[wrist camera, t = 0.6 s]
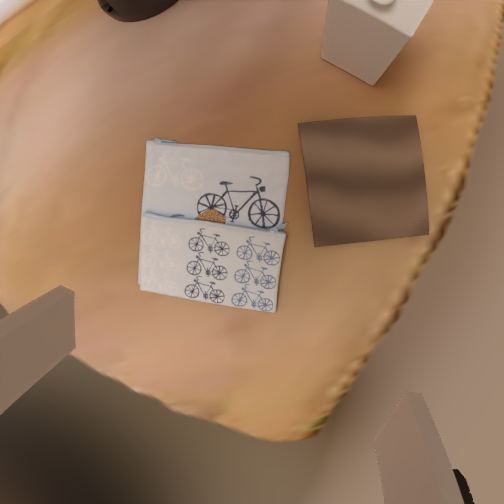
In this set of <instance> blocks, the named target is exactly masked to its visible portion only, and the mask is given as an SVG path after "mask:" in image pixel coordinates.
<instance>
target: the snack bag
mask: <svg viewBox="0 0 504 504" xmlns="http://www.w3.org/2000/svg"><path fill="white" fill-rule="evenodd" d="M173 142H175V143H173ZM289 170H290V153H289V152H288V151H275V150H258V149H247V148H236V147H225V146H215V145H198V144H179V143H177V142H176V141H171V140H161V139H158V138H156V139H155V140H152V141H151V140H148V141H147V144H146V162H145V176H144V189H143V201H142V215H141V231H140V252H139V274H138V283H139V285H140V290H143V291H148V292H154V293H159V294H164V295H170V296H175V297H180V298H185V299H190V300H195V301H200V302H207V303H213V304H219V305H224V306H231V307H236V308H244V309H251V310H258V311H265V312H271V313H275V312H276V307H277V293H278V284H279V275H280V268H281V261H282V254H283V247H284V244H285V240H286V235H287V234H286V232H282V229H285V228H286V225H287V224H288V222H287V223H284V224H283V219H284V211H285V202H286V194H287V186H288V179H289ZM211 209H215V210H217V211H218V212H219V213H221V214H222V215H223V216H224V217H226V222H225V224H222V223H216V222H210V221H203V220H195V218H196V217H197V216H198V215H199V214H201V213H203V212H204V211H207V210H211Z"/></svg>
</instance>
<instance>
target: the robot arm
mask: <svg viewBox="0 0 504 504" xmlns="http://www.w3.org/2000/svg"><path fill="white" fill-rule="evenodd" d="M176 1H178V0H98V3H99V5H100V7H101V8H102V9H103V11H104V12H106V13H107V14H108V15H110V16H111V17H113V18H114V19H116V20H119V21H124V22H133V21H139V20H143V19H146V18H149V17H152V16H154V15H156V14H158V13H160V12H162V11H164V10H165V9H167V8H168V7H170V6H171V5H173V4H174V3H175V2H176ZM75 348H76V344H75V316H74V291H72V290H70V289H67V288H65V287H63V286H61V285H60V286H58V287H57V288H55V289H53V290H51V291H49V292H48V293H46V294H44V295H42V296H41V297H39V298H37V299H35V300H34V301H32V302H30V303H28V304H27V305H25V306H23V307H21V308H20V309H18V310H16V311H14V312H13V313H11V314H9V315H8V316H6V317H4V318H3V319H1V320H0V414H2V413H3V412H4V411H5V410H6V409H7V408H8V407H9V406H10V405H11V404H12V403H13V402H15V401H16V400H17V399H18V398H19V397H20V396H21V395H22V394H23V393H24V392H26V391H27V390H28V389H29V388H30V387H31V386H32V385H33V384H34V383H36V382H37V381H38V380H39V379H40V378H41V377H42V376H44V375H45V374H46V373H47V372H48V371H49V370H50V369H51V368H53V367H54V366H55V365H56V364H57V363H58V362H59V361H61V360H62V359H63V358H64V357H65V356H66V355H68V354H69V353H70V352H71V351H72V350H73V349H75ZM374 444H375V449H376V454H377V460H378V465H379V471H380V477H381V483H382V489H383V496H384V502H385V504H474V502H472V501H473V498H472V495H471V493H469V491H470V490H469V487H468V484H467V481H466V479H465V478H464V476H463V475H462V474H461V473H460V471H459V470H458V469H452V467H451V464H450V461H449V459H448V456H447V453H446V451H445V448H444V446H443V443H442V440H441V438H440V435H439V433H438V431H437V428H436V426H435V423H434V421H433V419H432V416H431V414H430V412H429V409H428V407H427V405H426V402H425V400H424V398H423V396H422V394H421V393H415V392H408V391H406V392H405V393H404V395H403V396H402V398H401V400H400V401H399V403H398V404H397V406H396V407H395V409H394V410H393V412H392V413H391V415H390V416H389V418H388V420H387V421H386V422H385V424H384V425H383V427H382V428H381V429H380V431H379V432H378V434H377V435H376V436H375V438H374Z"/></svg>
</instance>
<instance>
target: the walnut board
mask: <svg viewBox="0 0 504 504" xmlns="http://www.w3.org/2000/svg"><path fill="white" fill-rule="evenodd" d="M298 127H299V133H300V139H301V146H302V152H303V159H304V166H305V173H306V180H307V188H308V195H309V203H310V211H311V219H312V228H313V237H314V245H315V247H320V246H329V245H338V244H347V243H356V242H365V241H374V240H383V239H392V238H401V237H410V236H419V235H428V234H429V222H428V206H427V193H426V182H425V173H424V164H423V156H422V149H421V142H420V136H419V130H418V124H417V119H416V116H381V117H362V118H348V119H336V120H325V121H315V122H306V123H298Z"/></svg>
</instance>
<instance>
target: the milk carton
mask: <svg viewBox="0 0 504 504" xmlns="http://www.w3.org/2000/svg"><path fill="white" fill-rule="evenodd" d="M433 1H434V0H328V7H327V15H326V22H325V29H324V36H323V43H322V50H321V58H322V59H324V60H326V61H328V62H330V63H332V64H334V65H335V66H337V67H339V68H341V69H343V70H345V71H347V72H348V73H350V74H352V75H354V76H355V77H357V78H359V79H361V80H362V81H364V82H366V83H367V84H369V85H371V86H374V84H375V83H376V82H377V81H378V79H379V78H380V77H381V76H382V74H383V73H384V72H385V70H386V69H387V68H388V67H389V65H390V64H391V63H392V61H393V60H394V59H395V58H396V56H397V55H398V54H399V53H400V51H401V50H402V49H403V48H404V46H405V45H406V44H407V42H408V41H409V40H410V39H411V37H412V36H413V35H414V33H415V31H416V30H417V28H418V26H419V25H420V23H421V21H422V20H423V18H424V16H425V15H426V13H427V11H428V10H429V8H430V6H431V4H432V3H433Z"/></svg>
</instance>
